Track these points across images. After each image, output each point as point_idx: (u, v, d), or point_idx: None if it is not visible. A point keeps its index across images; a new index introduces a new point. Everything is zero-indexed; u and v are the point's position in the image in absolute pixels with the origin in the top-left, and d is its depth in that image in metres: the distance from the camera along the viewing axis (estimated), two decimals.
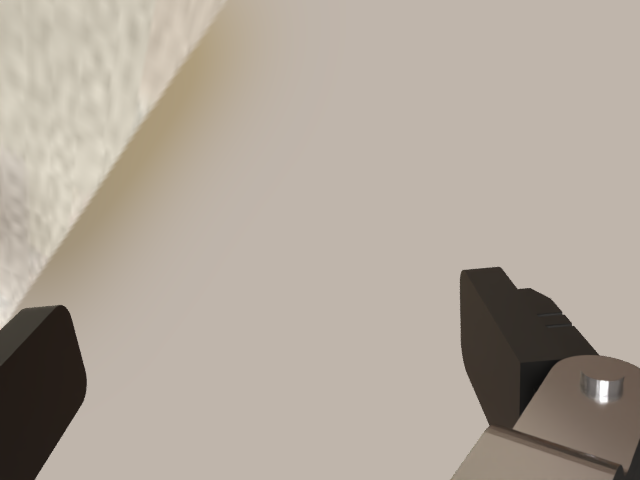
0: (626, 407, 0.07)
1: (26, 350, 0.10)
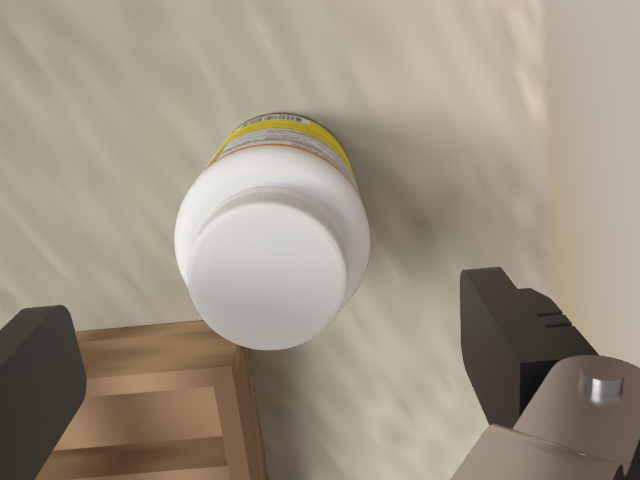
0: (626, 407, 0.07)
1: (26, 350, 0.10)
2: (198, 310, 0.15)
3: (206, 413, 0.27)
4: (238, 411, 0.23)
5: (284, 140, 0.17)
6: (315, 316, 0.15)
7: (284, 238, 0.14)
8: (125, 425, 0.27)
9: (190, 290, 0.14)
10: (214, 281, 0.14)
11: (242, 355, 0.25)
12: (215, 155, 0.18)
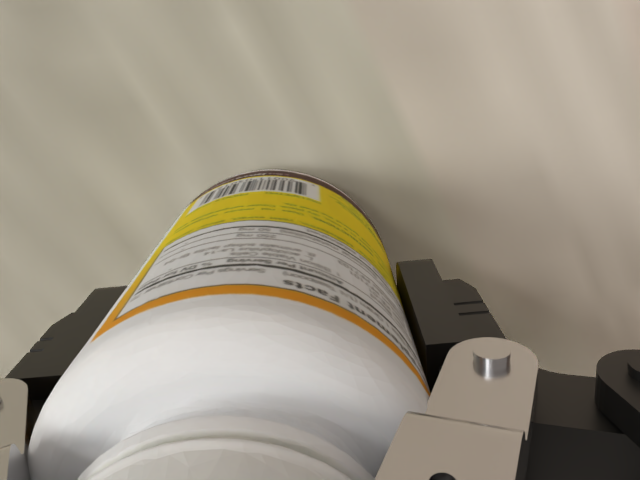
0: (507, 382, 0.08)
1: None
2: None
3: None
4: None
5: (267, 267, 0.08)
6: None
7: None
8: None
9: None
10: None
11: None
12: (135, 279, 0.09)
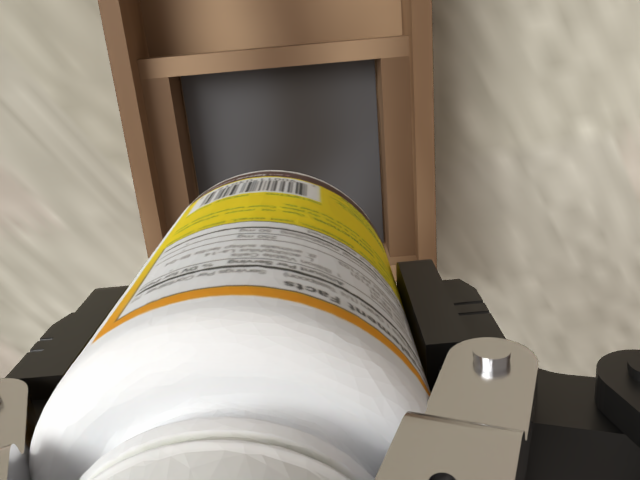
0: (506, 382, 0.08)
1: None
2: None
3: (372, 6, 0.26)
4: None
5: (268, 268, 0.08)
6: None
7: None
8: (288, 20, 0.26)
9: None
10: None
11: None
12: (136, 279, 0.09)
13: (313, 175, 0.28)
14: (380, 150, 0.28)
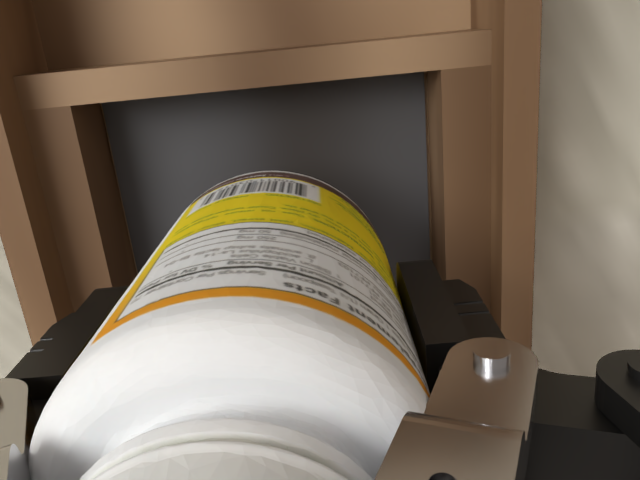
0: (506, 382, 0.08)
1: None
2: None
3: None
4: None
5: (267, 269, 0.08)
6: None
7: None
8: (278, 7, 0.16)
9: None
10: None
11: None
12: (136, 280, 0.09)
13: None
14: (430, 216, 0.17)
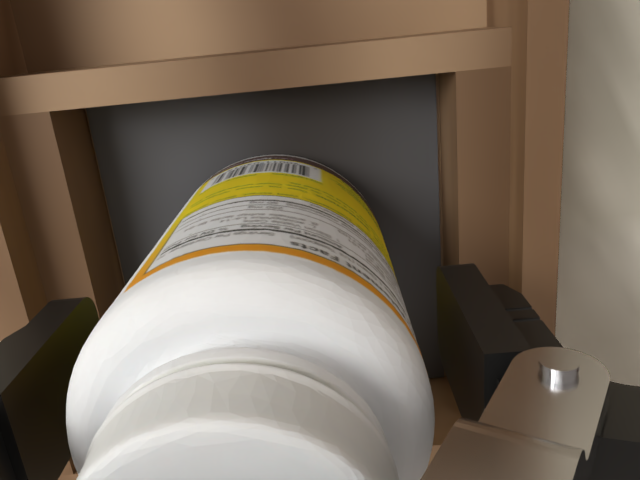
0: (579, 395, 0.07)
1: (57, 340, 0.10)
2: None
3: None
4: None
5: (276, 231, 0.09)
6: None
7: None
8: (277, 3, 0.14)
9: None
10: None
11: None
12: (157, 245, 0.10)
13: None
14: (442, 229, 0.16)
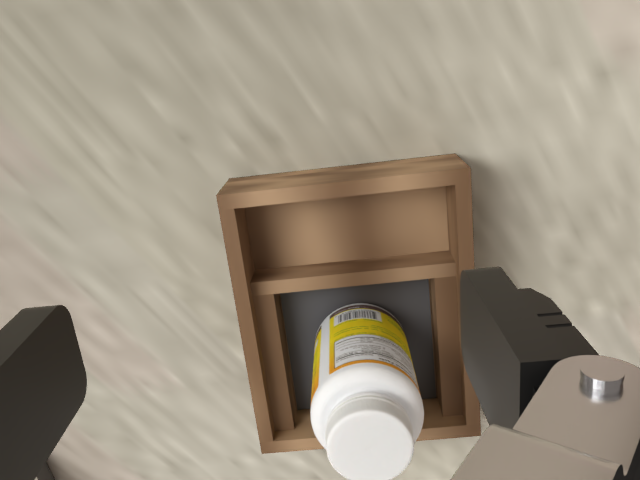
0: (626, 407, 0.07)
1: (26, 350, 0.10)
2: (331, 463, 0.27)
3: (425, 231, 0.34)
4: (471, 207, 0.30)
5: (373, 353, 0.29)
6: (395, 467, 0.27)
7: (380, 428, 0.26)
8: (360, 242, 0.34)
9: (328, 453, 0.27)
10: (341, 449, 0.26)
11: None
12: (329, 354, 0.30)
13: None
14: (432, 331, 0.36)
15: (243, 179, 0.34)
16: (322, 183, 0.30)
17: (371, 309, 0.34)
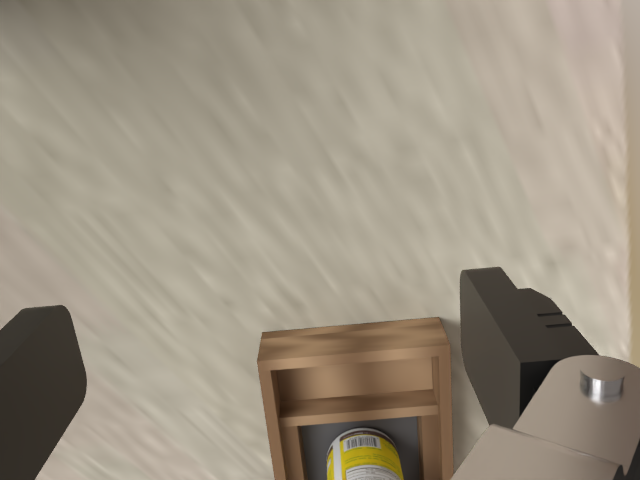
0: (626, 407, 0.07)
1: (26, 350, 0.10)
2: None
3: (414, 375, 0.44)
4: (450, 371, 0.40)
5: None
6: None
7: None
8: (364, 382, 0.44)
9: None
10: None
11: None
12: None
13: None
14: (419, 447, 0.46)
15: (274, 336, 0.43)
16: (338, 352, 0.40)
17: (372, 435, 0.44)
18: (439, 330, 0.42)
